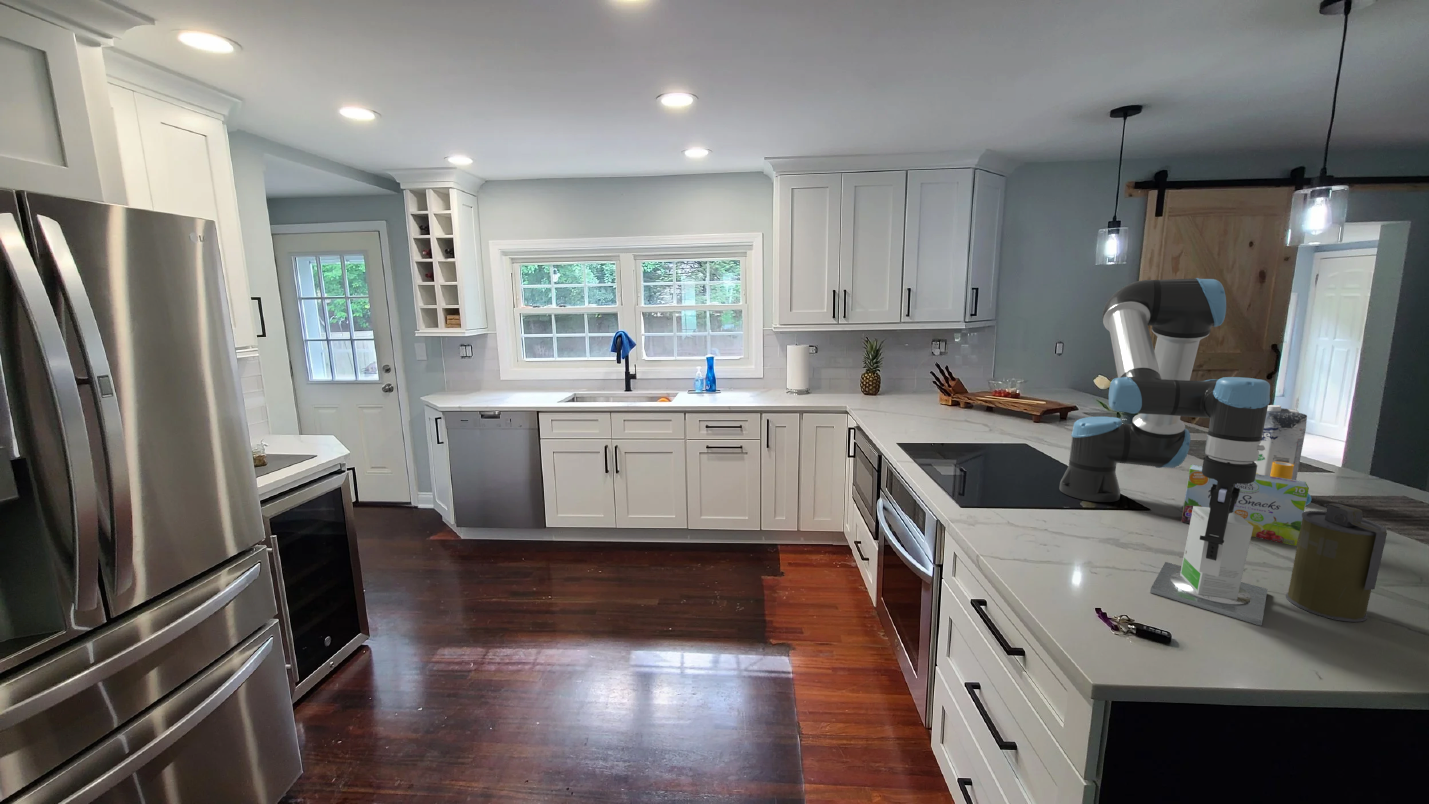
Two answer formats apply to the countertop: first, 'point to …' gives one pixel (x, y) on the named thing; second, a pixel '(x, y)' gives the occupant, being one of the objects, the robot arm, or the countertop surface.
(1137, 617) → the countertop surface
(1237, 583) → the skincare box
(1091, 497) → the robot arm
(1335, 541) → the canister
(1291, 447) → the juice carton
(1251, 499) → the snack box
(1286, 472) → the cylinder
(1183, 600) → the flange plate
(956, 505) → the countertop surface
